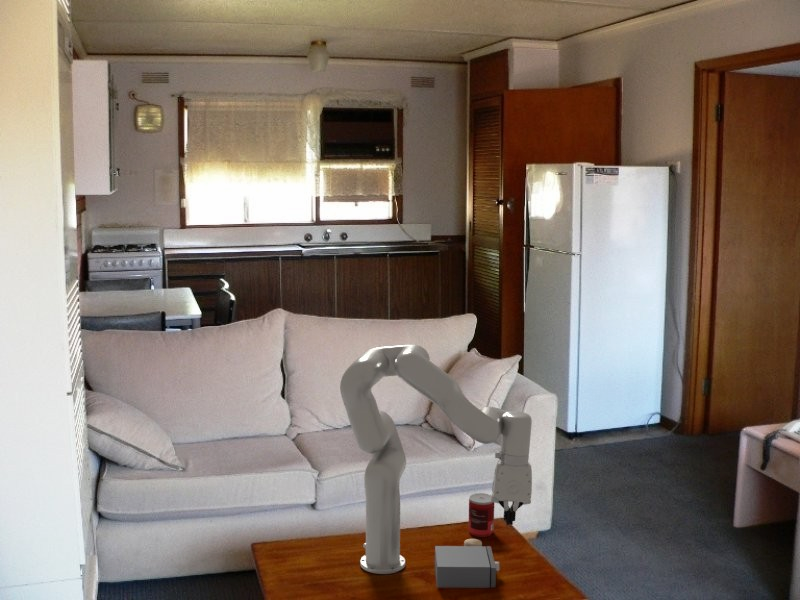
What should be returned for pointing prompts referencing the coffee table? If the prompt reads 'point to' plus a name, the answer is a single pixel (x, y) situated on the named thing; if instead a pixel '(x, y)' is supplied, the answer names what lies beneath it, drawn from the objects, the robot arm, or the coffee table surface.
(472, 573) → the housing
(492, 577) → the drawer
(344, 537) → the coffee table surface
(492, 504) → the canned food
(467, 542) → the beige rounded lump
